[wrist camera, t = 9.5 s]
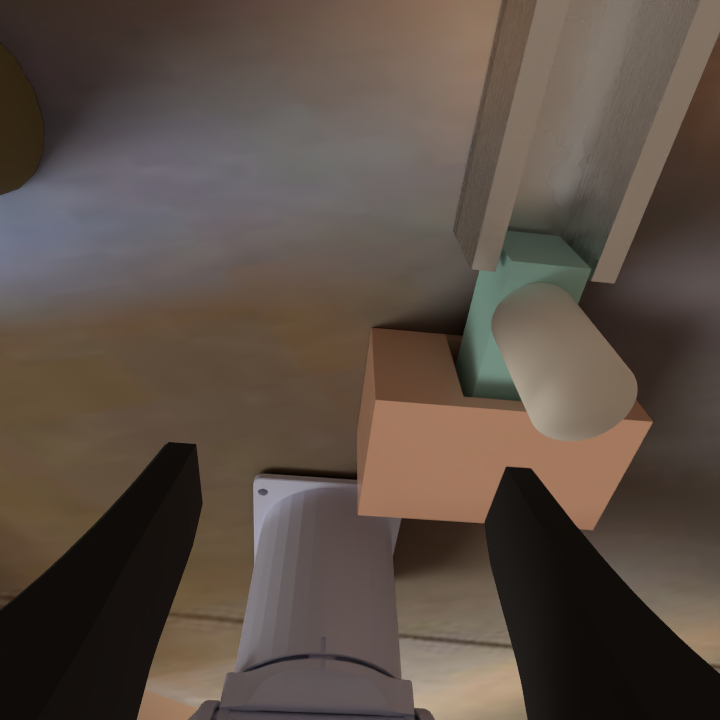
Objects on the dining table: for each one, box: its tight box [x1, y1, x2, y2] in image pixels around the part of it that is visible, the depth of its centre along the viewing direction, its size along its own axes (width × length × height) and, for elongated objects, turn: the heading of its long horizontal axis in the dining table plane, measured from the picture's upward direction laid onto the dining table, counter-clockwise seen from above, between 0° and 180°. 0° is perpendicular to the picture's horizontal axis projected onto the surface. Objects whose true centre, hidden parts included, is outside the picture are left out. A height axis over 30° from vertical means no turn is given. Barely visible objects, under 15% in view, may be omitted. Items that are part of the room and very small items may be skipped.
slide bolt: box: [455, 231, 638, 441], centre depth 18 cm, size 8×3×8 cm, turn 174°
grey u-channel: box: [453, 0, 720, 284], centre depth 16 cm, size 8×5×4 cm, turn 174°
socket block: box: [357, 328, 653, 530], centre depth 21 cm, size 6×10×5 cm, turn 84°
